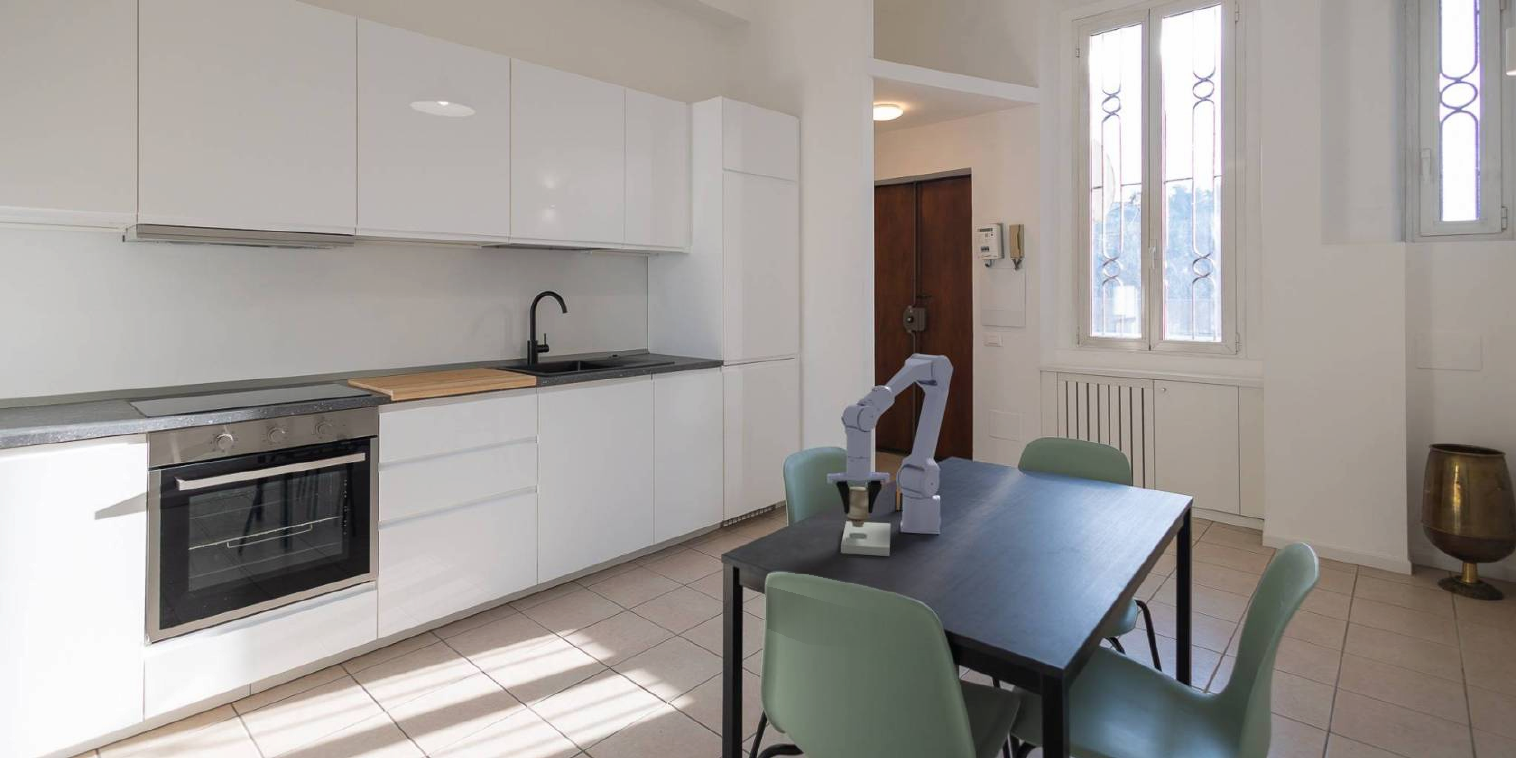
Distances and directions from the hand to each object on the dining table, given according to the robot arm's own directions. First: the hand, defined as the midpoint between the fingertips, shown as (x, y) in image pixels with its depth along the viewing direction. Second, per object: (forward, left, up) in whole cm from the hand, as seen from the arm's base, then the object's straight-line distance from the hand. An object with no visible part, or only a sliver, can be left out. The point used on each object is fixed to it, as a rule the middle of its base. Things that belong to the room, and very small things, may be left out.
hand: (858, 512), depth 178 cm
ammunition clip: (-12, -34, -8) cm, 37 cm away
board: (-2, -2, -8) cm, 8 cm away
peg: (0, 0, -3) cm, 3 cm away
